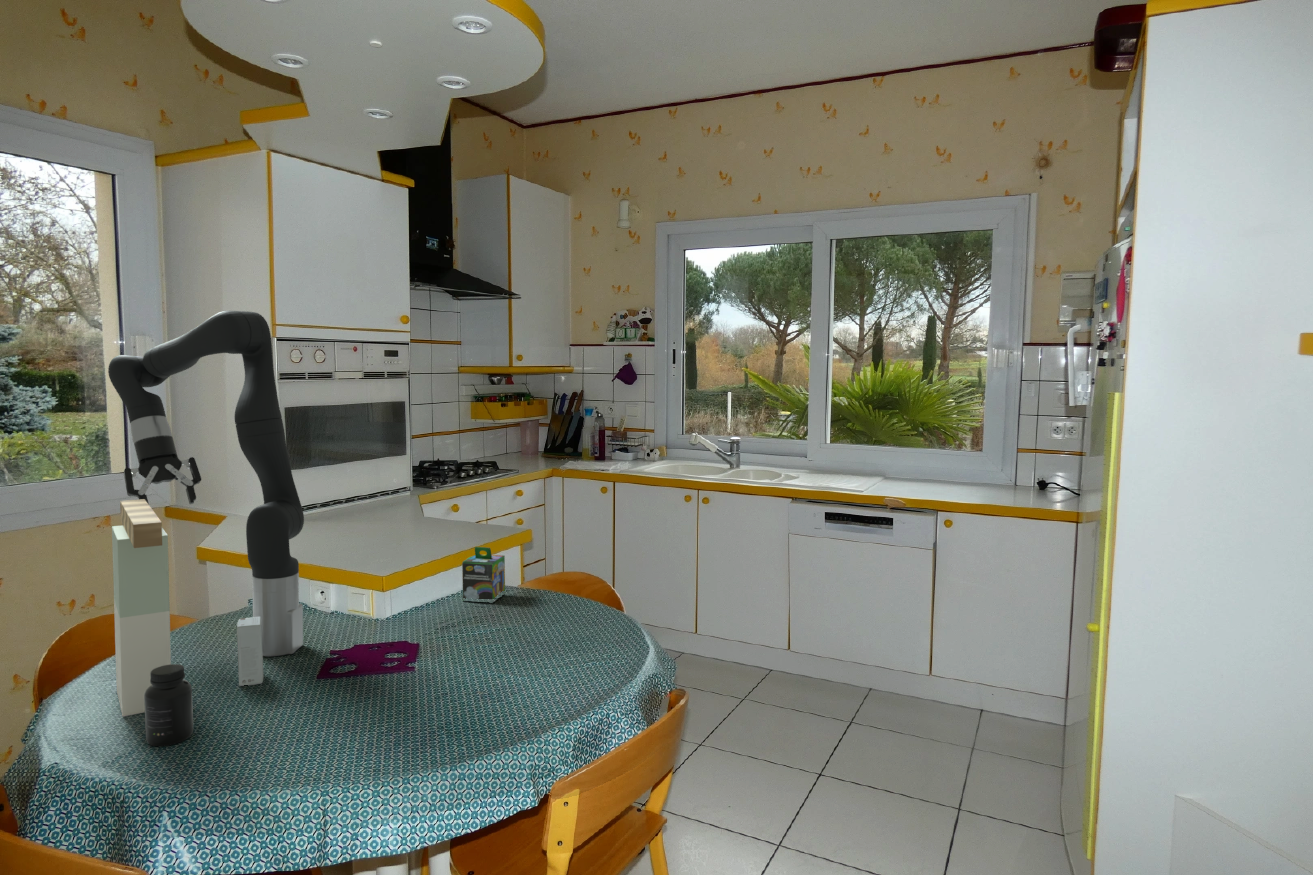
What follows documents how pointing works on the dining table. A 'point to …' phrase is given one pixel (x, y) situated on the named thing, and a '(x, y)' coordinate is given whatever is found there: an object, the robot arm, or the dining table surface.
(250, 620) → the skincare box
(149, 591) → the tower
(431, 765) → the dining table surface
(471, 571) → the chalk box
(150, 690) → the supplement bottle
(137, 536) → the beam
